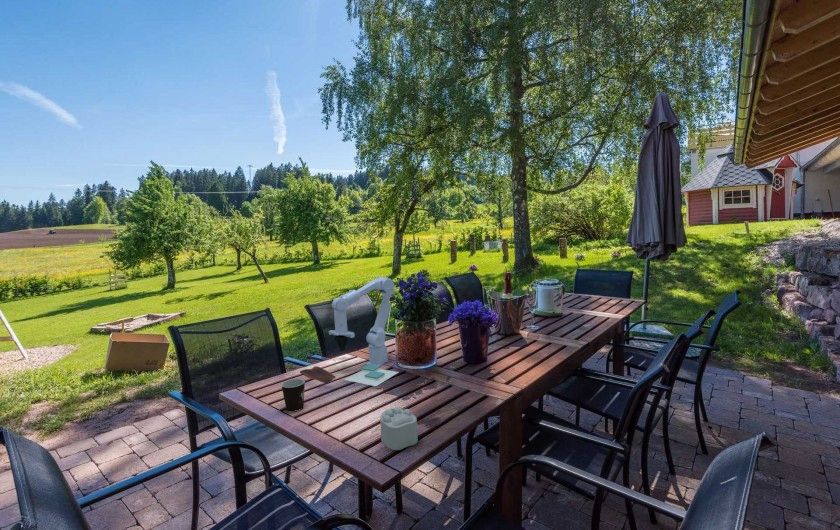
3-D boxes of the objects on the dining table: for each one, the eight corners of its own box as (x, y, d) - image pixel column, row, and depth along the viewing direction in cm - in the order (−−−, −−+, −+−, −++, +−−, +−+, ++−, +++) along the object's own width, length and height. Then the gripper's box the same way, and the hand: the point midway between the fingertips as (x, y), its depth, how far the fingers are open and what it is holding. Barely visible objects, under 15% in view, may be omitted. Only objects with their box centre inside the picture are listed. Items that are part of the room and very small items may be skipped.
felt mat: (368, 367, 191) (368, 366, 191) (398, 373, 182) (398, 372, 182) (344, 380, 176) (344, 379, 176) (375, 387, 167) (375, 386, 167)
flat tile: (369, 367, 191) (369, 363, 191) (380, 369, 188) (380, 365, 187) (361, 371, 186) (361, 367, 186) (373, 373, 182) (373, 369, 182)
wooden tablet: (344, 378, 176) (324, 382, 170) (344, 383, 176) (324, 387, 170) (317, 365, 196) (298, 368, 190) (317, 369, 196) (298, 372, 190)
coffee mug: (293, 415, 144) (291, 389, 143) (278, 410, 149) (276, 385, 148) (317, 402, 154) (315, 378, 153) (302, 398, 159) (300, 374, 158)
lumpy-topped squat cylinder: (392, 452, 117) (391, 425, 116) (374, 434, 128) (373, 409, 127) (421, 441, 122) (420, 415, 121) (402, 425, 133) (401, 400, 133)
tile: (372, 370, 181) (384, 372, 178) (372, 374, 181) (384, 376, 178) (364, 375, 176) (376, 377, 173) (364, 378, 176) (377, 380, 173)
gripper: (323, 323, 186) (325, 351, 187) (346, 326, 178) (348, 354, 180) (333, 320, 192) (335, 347, 193) (356, 322, 185) (358, 350, 186)
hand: (342, 350), depth 187 cm, fingers closed
